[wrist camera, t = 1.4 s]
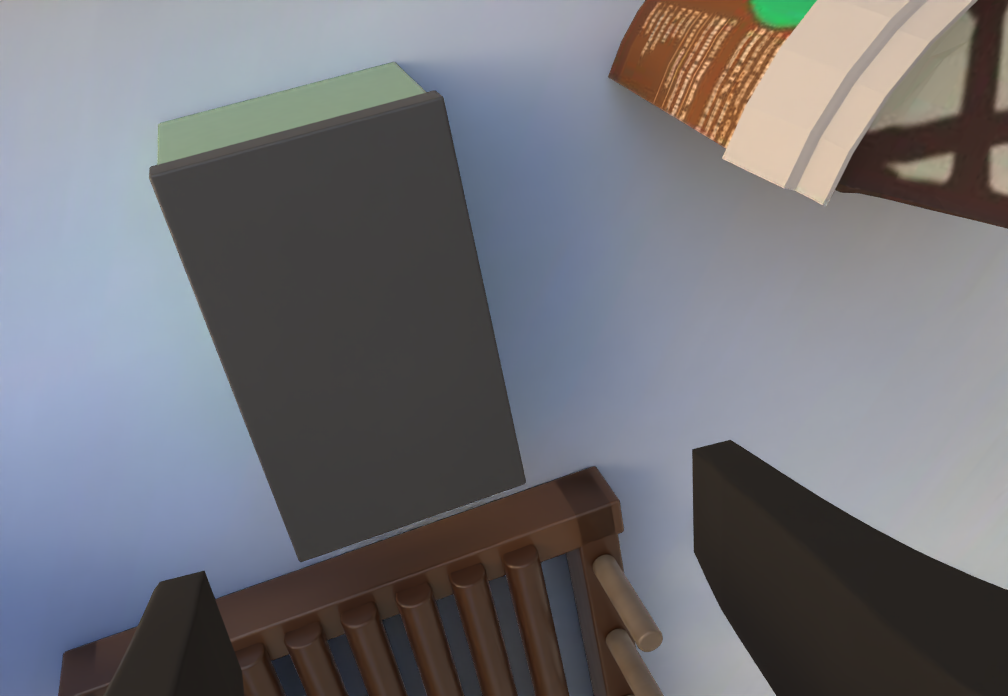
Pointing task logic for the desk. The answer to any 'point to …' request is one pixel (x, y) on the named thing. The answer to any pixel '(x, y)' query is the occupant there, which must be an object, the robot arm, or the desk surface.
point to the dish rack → (413, 593)
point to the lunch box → (344, 300)
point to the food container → (839, 93)
